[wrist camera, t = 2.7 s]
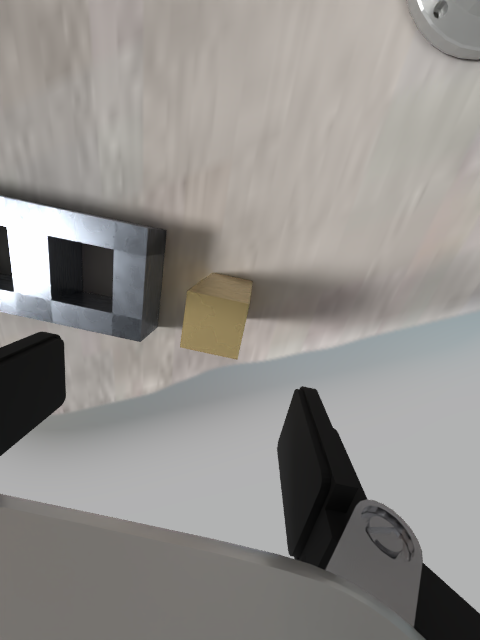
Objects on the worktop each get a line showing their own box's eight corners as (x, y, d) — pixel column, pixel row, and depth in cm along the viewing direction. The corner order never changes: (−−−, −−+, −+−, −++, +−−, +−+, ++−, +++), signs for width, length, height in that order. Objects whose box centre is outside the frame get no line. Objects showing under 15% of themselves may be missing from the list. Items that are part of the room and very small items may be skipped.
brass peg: (252, 281, 23) (249, 304, 15) (244, 318, 25) (237, 359, 16) (213, 272, 23) (187, 290, 15) (207, 310, 25) (180, 347, 16)
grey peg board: (166, 230, 22) (147, 228, 19) (157, 326, 26) (140, 341, 22) (-39, 186, 22) (-99, 175, 19) (-22, 288, 26) (-70, 296, 22)
